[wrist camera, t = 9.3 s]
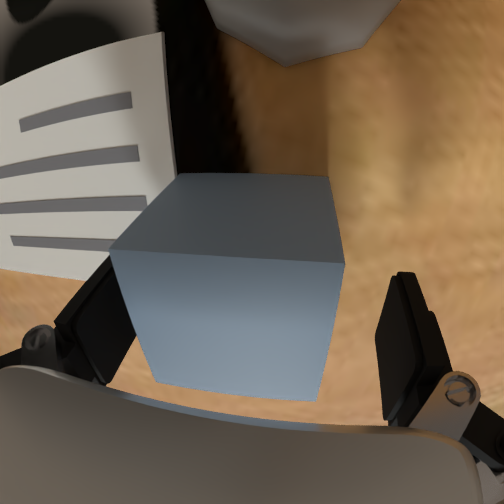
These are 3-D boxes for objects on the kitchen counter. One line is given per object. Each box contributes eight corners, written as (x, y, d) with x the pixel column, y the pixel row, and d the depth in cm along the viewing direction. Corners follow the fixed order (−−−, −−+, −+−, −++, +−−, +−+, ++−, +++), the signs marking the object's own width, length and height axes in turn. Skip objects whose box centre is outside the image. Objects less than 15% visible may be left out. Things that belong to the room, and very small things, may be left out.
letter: (164, 32, 10) (160, 31, 9) (194, 288, 16) (192, 292, 16) (-45, 111, 12) (-48, 113, 12) (1, 265, 18) (-2, 268, 18)
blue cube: (327, 176, 12) (345, 263, 7) (316, 294, 15) (315, 401, 10) (180, 172, 13) (108, 248, 8) (196, 286, 16) (155, 382, 11)
